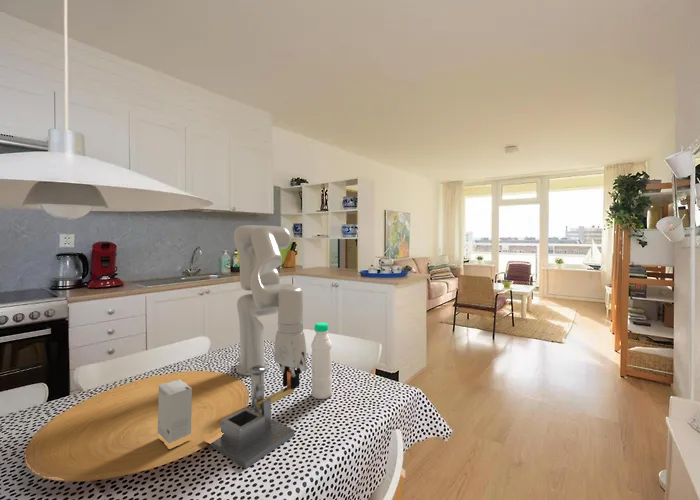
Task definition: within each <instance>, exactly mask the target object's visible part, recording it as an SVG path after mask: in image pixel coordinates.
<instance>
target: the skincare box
mask: <svg viewBox="0 0 700 500" xmlns="http://www.w3.org/2000/svg"><path fill="white" fill-rule="evenodd" d="M192 404H193V388H192V387H190V386H189V385H188V384H187V382H184V381H182V380H181V379H180V378H178V379H175V380H172V381H168V382H166V383H165V382H163V383H162V384H159V385H158V403H157V405H158V408H157V409H158V410H157V434H158V433H159V434H160V435H161V436H162V437H163V438H164V439H165V440H166V441H167V442H168V443H171V442H173V441H176V440H178V439H180V438H182V437H185V436H187V435H189V434H191V435H192V414H193V413H192V411H193V410H192V409H193V408H192V406H193V405H192Z"/></svg>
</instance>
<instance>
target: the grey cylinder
mask: <svg viewBox="0 0 700 500" xmlns="http://www.w3.org/2000/svg"><path fill="white" fill-rule="evenodd" d="M265 372H266V371H265V366H262V365H257V366H253V367H251V368H250V369H249V373H250V374H251V375H250V387H251V388H250V389H251V391H250V393H251V395H250V396H251V403H250V404H251V407H252V408H254V399H255V398H257V397H259V396H263V399H265Z"/></svg>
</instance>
